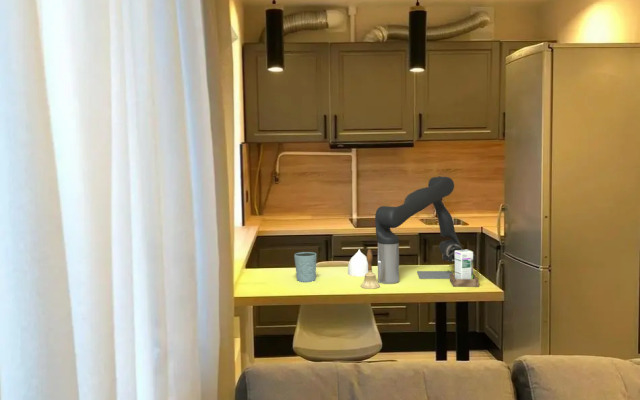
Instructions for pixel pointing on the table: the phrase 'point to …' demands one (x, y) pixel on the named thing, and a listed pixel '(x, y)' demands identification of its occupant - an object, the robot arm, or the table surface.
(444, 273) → the grey mat
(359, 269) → the teardrop
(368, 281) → the hand bell
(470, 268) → the syrup box
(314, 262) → the teal tapered cup
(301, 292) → the table surface
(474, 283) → the walnut collar
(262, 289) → the table surface
